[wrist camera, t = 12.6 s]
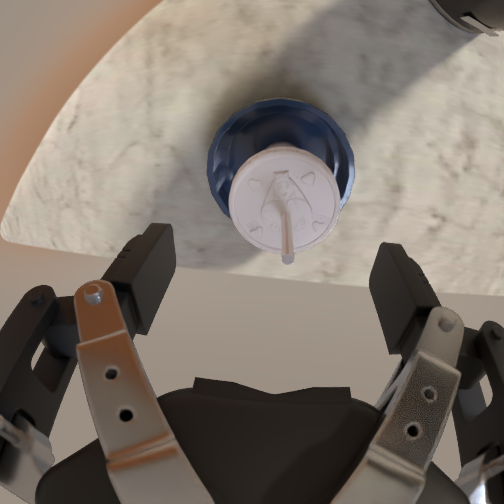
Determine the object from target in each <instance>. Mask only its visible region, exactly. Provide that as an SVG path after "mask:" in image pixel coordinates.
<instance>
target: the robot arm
mask: <svg viewBox="0 0 504 504" xmlns="http://www.w3.org/2000/svg"><path fill="white" fill-rule="evenodd" d="M430 1H431V3H432V4H433V5H434V7H435V8H436V9H437V10H438V11H439V12H440V13H441V14H442V15H443V16H444V17H445V18H446V19H447V20H448V21H450V22H451V23H452V24H454V25H455V26H457V27H458V28H460V29H462V30H464V31H467V32H470V33H486V34H487V35H489V36H499V35H497V34H496V33H495V32H493V31H504V0H430ZM175 268H176V254H175V246H174V237H173V229H172V226H171V224H163V223H151V224H150V225H149V227H148V228H147V229H146V231H145V232H144V233H143V235H137V236H136V237H134V238H133V239H131V240H130V241H128V242H127V244H126V245H125V246H124V248H123V249H122V251H121V252H120V253H119V254H118V256H117V258H115V260H114V261H113V263H112V264H111V266H110V267H109V268H108V269H107V271H106V272H105V274H104V275H103V277H102V278H101V279H100V280H93V281H90V282H87V283H86V284H84V285H82V286H81V287H80V288H79V289H78V290H77V291H76V293H75V295H74V296H66V297H56V295H55V292H54V290H53V289H52V287H50V286H47V285H40V286H37V287H34V288H32V289H31V290H30V291H28V292H27V293H26V294H25V295H24V296H23V298H22V299H21V300H20V302H19V303H18V305H17V306H16V308H15V309H14V311H13V312H12V314H11V315H10V317H9V318H8V319H7V321H6V322H5V324H4V326H3V327H2V329H1V330H0V485H1V486H3V487H4V488H5V489H7V490H8V491H10V492H11V493H13V494H14V495H16V496H17V497H19V498H20V499H22V500H24V501H25V502H27V503H29V504H504V328H503V327H502V326H501V325H499V324H498V323H496V322H493V321H486V322H484V324H483V325H482V327H481V328H480V329H479V331H478V330H474V329H471V328H466V327H464V323H463V321H462V319H461V318H460V316H459V315H458V314H456V313H455V312H454V311H453V310H451V309H449V308H446V307H442V306H441V304H440V302H439V300H438V298H437V296H436V294H435V292H434V291H433V289H432V287H431V285H430V284H429V281H428V280H427V278H426V276H425V274H424V273H423V271H422V269H421V267H420V266H419V265H418V264H417V263H416V262H415V261H414V260H413V259H412V258H409V257H408V255H407V254H406V252H405V250H404V249H403V247H402V245H401V244H395V243H386V242H383V243H381V245H380V247H379V250H378V253H377V256H376V259H375V262H374V265H373V268H372V271H371V274H370V278H369V288H370V292H371V295H372V298H373V301H374V304H375V307H376V310H377V313H378V317H379V320H380V323H381V327H382V330H383V334H384V337H385V340H386V344H387V347H388V351H389V354H401V356H402V359H401V361H400V362H399V364H398V366H397V368H396V369H395V371H394V373H393V375H392V377H391V379H390V381H389V383H388V384H387V386H386V388H385V390H384V392H383V393H382V395H381V397H380V398H379V400H378V401H377V403H376V404H375V406H372V405H370V404H368V403H366V402H363V401H361V400H358V399H355V398H351V393H350V387H312V388H307V389H302V390H297V391H292V392H287V393H281V394H269V393H266V392H263V391H259V390H256V389H253V388H250V387H247V386H244V385H240V384H238V383H235V382H228V381H220V380H211V379H204V378H197V377H195V381H194V385H193V388H185V389H179V390H176V391H172V392H169V393H166V394H164V395H162V396H160V397H158V398H157V397H156V395H155V392H154V391H153V388H152V386H151V384H150V382H149V379H148V377H147V375H146V372H145V370H144V368H143V365H142V363H141V361H140V358H139V356H138V353H137V351H136V348H135V345H134V343H133V339H134V336H135V334H142V335H147V334H148V331H149V329H150V327H151V324H152V322H153V319H154V317H155V314H156V313H157V310H158V308H159V306H160V303H161V301H162V299H163V297H164V295H165V292H166V290H167V288H168V286H169V283H170V281H171V279H172V277H173V275H174V272H175ZM40 342H42V343H43V345H44V346H45V348H44V349H43V352H42V353H41V355H40V357H39V359H38V361H37V363H36V365H35V367H34V369H33V371H32V368H31V361H32V357H33V355H34V353H35V351H36V350H37V348H38V346H39V344H40ZM77 362H78V364H79V369H80V373H81V377H82V382H83V386H84V390H85V394H86V398H87V402H88V405H89V409H90V412H91V416H92V419H93V422H94V425H95V428H96V432H97V435H98V438H97V439H96V440H94V441H93V442H91V443H90V444H88V445H86V446H85V447H83V448H82V449H80V450H79V451H77V452H75V453H74V454H72V455H71V456H69V457H67V458H66V459H64V460H63V461H61V462H59V463H58V464H56V465H54V466H53V467H52V465H53V463H54V461H55V458H54V455H53V454H52V447H51V444H50V441H49V436H50V432H51V430H52V427H53V424H54V421H55V418H56V415H57V412H58V410H59V407H60V404H61V402H62V399H63V396H64V394H65V392H66V389H67V387H68V384H69V382H70V379H71V377H72V374H73V372H74V369H75V367H76V365H77ZM486 374H487V376H488V379H489V382H490V385H491V388H492V392H493V397H492V401H491V403H490V405H489V406H488V407H486V403H485V400H484V396H483V393H482V390H481V386H480V383H479V381H480V380H481V379H482V378H483V377H484V376H485V375H486ZM451 410H452V415H453V420H454V425H455V430H456V435H457V441H458V447H459V453H460V460H461V467H462V469H461V472H460V474H459V478H458V479H457V480H455V482H453V481H452V480H451V479H450V478H449V477H448V476H447V475H446V474H444V472H443V471H441V469H439V468H438V467H437V466H436V465H435V464H434V463H433V462H432V461H431V460H432V457H433V455H434V453H435V451H436V448H437V446H438V443H439V441H440V438H441V436H442V433H443V431H444V428H445V425H446V423H447V420H448V417H449V414H450V411H451Z"/></svg>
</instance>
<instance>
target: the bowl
mask: <svg viewBox="0 0 504 504" xmlns="http://www.w3.org/2000/svg"><path fill="white" fill-rule="evenodd" d="M280 141H284V142H289V143H292V144H294V145H295V146H296V147H298V148H299V149H301V150H305V151H308V152H310V153H311V154H313V155H315V156H316V157H318V158H319V159H321V160H322V161H323V162H324V163H325V164H326V166H327V167H328V168H329V169H330V170H331V172H332V174H333V176H334V178H335V180H336V182H337V186H338V189H339V193H340V200H341V206H340V210H341V209H342V207H343V206H344V204H345V203H346V201H347V200H348V198H349V196H350V193H351V189H352V186H353V182H354V178H355V168H354V155H353V151H352V149H351V147H350V144H349V142H348V139H347V137H346V135H345V133H344V132H343V130H342V129H341V128H340V127H339V126H338V125H337V124H336V123H335V121H334V120H333V119H332V118H331V117H330V116H329V115H328V114H326V113H324V112H323V111H321V110H319V109H317V108H315V107H314V106H312V105H310V104H308V103H306V102H304V101H302V100H297V99H292V98H286V97H274V98H267V99H260V100H258V101H256V102H254V103H252V104H250V105H248V106H246V107H244V108H242V109H240V110H238V111H237V112H235V113H234V114H233V115H232V116H231V117H230V118H229V119H228V120H227V121H226V122H225V123H224V124H223V125H222V126H221V127H220V128H219V129H218V131H217V133H216V135H215V137H214V140H213V142H212V144H211V146H210V149H209V151H208V161H207V177H208V181H209V185H210V189H211V193H212V195H213V197H214V199H215V200H216V202H217V203H218V205H219V207H220V208H221V210H222V211H223V213H224V214H226V215H227V216H228V217H229V218H230V219H231V220H232V218H231V215H230V211H229V194H230V190H231V185H232V181H233V179H234V177H235V175H236V173H237V171H238V170H239V168H240V167H241V166H242V165H243V164H244V163H245V162H246V161H247V160H248V159H249V158H250V157H252V156H254V155H256V154H257V153H259V152H261V151H263V150H265V149H266V148H267V147H268V146H269V145H271V144H273V143H275V142H280Z"/></svg>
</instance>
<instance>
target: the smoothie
mask: <svg viewBox="0 0 504 504" xmlns="http://www.w3.org/2000/svg"><path fill="white" fill-rule="evenodd" d="M340 206H341V200H340V193H339V189H338V186H337V182H336V180H335V178H334V176H333V174H332V172H331V170H330V169H329V168H328V167H327V166H326V164H325V163H324V162H323V161H322V160H321V159H319V158H318V157H316V156H315V155H313V154H311V153H310V152H308V151H305V150H301V149H299V148H298V147H296V146H295V145H294V144H292V143H289V142H284V141H280V142H275V143H273V144H271V145H269V146H268V147H267V148H266V149H265V150H263V151H261V152H259V153H257V154H256V155H254V156H252V157H250V158H249V159H248V160H247V161H246V162H245V163H244V164H243V165H242V166H241V167H240V168H239V170H238V171H237V173H236V175H235V177H234V179H233V181H232V185H231V190H230V194H229V211H230V215H231V218H232V221H233V223H234V225H235V227H236V229H237V230H238V231H239V233H240V234H241V235H242V236H243V237H244V238H245V239H246V240H247V241H248V242H250V243H251V244H253V245H254V246H256V247H258V248H260V249H262V250H265V251H268V252H272V253H279V254H282V262H283V263H284V264H287V265H289V264H292V263H293V262H294V260H295V258H294V253H297V252H301V251H305V250H307V249H310V248H312V247H314V246H315V245H317V244H319V243H320V242H321V241H322V240H324V239H325V238H326V237H327V236H328V235H329V233H330V232H331V231H332V229H333V228H334V226H335V224H336V222H337V220H338V217H339V213H340Z"/></svg>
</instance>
